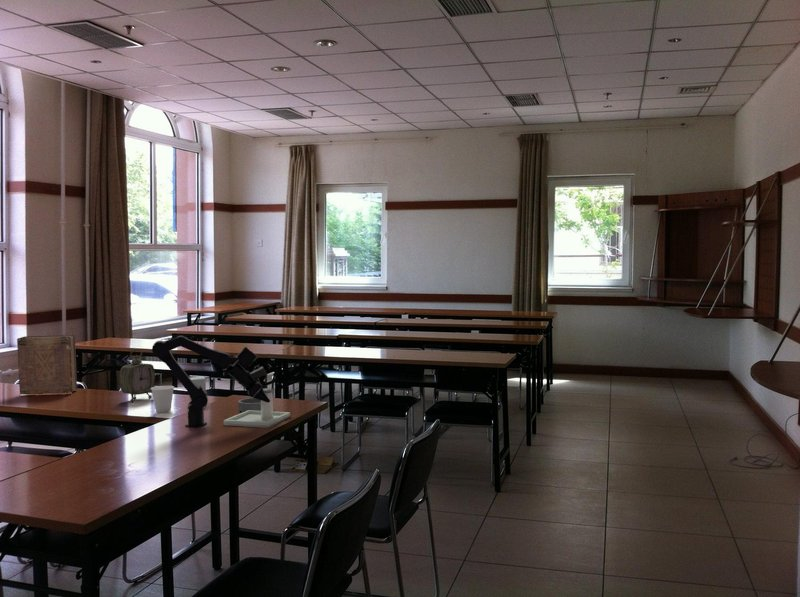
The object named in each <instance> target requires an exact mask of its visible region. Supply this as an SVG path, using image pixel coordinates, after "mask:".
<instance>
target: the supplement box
mask: <svg viewBox="0 0 800 597" xmlns="http://www.w3.org/2000/svg"><path fill="white" fill-rule="evenodd" d="M189 378H190V379H191V380H192V382H193V383H194V384H195V385H196V386H198V387H199V386H200V385H201V386H202V387H203V389H204V390H205V391H206V392H207V390H206V389H207V388H206V382H207V381H206V378H205V376H195V377H189ZM191 401H192V400H191V398H190V397H189V403H190V402H191Z"/></svg>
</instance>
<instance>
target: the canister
mask: <svg viewBox="0 0 800 597" xmlns="http://www.w3.org/2000/svg"><path fill="white" fill-rule="evenodd" d="M263 392H264V393H265V394H266V396H267V397H268V398H269V400H270V402H269V403H268V402H265V401H262V400H261V419H272V418H273V412H274V398H273V396H274V394H273V393H274V389H273V388H263Z"/></svg>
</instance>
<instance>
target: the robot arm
mask: <svg viewBox="0 0 800 597" xmlns="http://www.w3.org/2000/svg"><path fill="white" fill-rule="evenodd" d="M180 347H182V348H184V349H186V350H189V351H191V352H192V353H193V352H194V353H195V354H198V355H200V356H202V357H204V358H207V359H208V360H209V361H211V362H212V363H214V365H215V364H216V365H217V366H218V367H220V368H223V369H222V371H223V377H226V376H228V375H229V376H230V377H231V378H232V379H234V380H235V381H236V382H237V383H238V384H239V385H240V386H242V387H243V388H244V389H245V390H246V391H247V394H248V396H250V398H256V399H259V400H262V401H265V402H268V403H269V402H270V400H269V398H268V397H267V396H266V394H265V393H264V392H263V389H264V386H263V385H262V384H261V381H260V378H262V377H264V376H266V375H267V372H266V370H265V368H264V366H258V365H256V366H254V370H252V371H251V372H250V371H249V370H246V369H245V368H246V367H250V366H251V365H252V364H253V363H254V362H255V361H256V360H257V359H258V357H259V356H258V355H256V354H255V352H254V351H252V350H250V348H248V347H247V346H244V347H243V348H242V350H241V351H240V352H239V353H238V354H237V355H234V354H229V353H228V352H226V351H221V350H218V349H213V348H209V347H207V346H206V345H203V344H200V343H199V342H196V341H194V340H192V339H189V338H187V337H186V336H184V335H178V336H176V337H174V338H170V339H166V340H157V341H155V342H154V343H153V344H152V347H151V351H152V354H153V355H154V356H155V357H157V358H158V360H160V361H162V362H163V363H164V364H165V365H166V366H167V367H168V368H169V369H170V371H171V372H172V374H173V375H174V376H175V378H176V379H177V380H178V381H179V382H180V384H181V385H182V386H183V387H184V388H185V390H186V391H187V393H188V395H189V399H190V398H191V400H192V401H191V402H190V401H189V403H187V409H188V410H187V424H185V425H184V426H185V427H188V426H191V427H190V428H201V427H202V426H206V425H207V424H208V423H207V422H205V419H204V418H205V417H204V416H205V415H204V407H205V406H207V405H208V400H209V399H208V392H207V390H206V391H205V390H204V389H203V387H202V386H201V385H200V386H199V387H198V386H196V385H195V384H194V383H193V382H192V380H191V379H190V378H191V377H190V376H189V375H188V374H187V373H186V371H185V370H184V369H183V367H182V366H181V365H180V363H179V362H178V361H177V359H175V357H174V355H173V354H172V350H175V349H176V348H180Z"/></svg>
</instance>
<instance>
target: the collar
mask: <svg viewBox="0 0 800 597" xmlns="http://www.w3.org/2000/svg"><path fill="white" fill-rule="evenodd" d="M248 410H253V411H261V400H259V399H256V398H252V397H249V398H248V397H247V398H242V399H240V400H238V412H240V411H241V412H240V413H243V412H245V411H248Z"/></svg>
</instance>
